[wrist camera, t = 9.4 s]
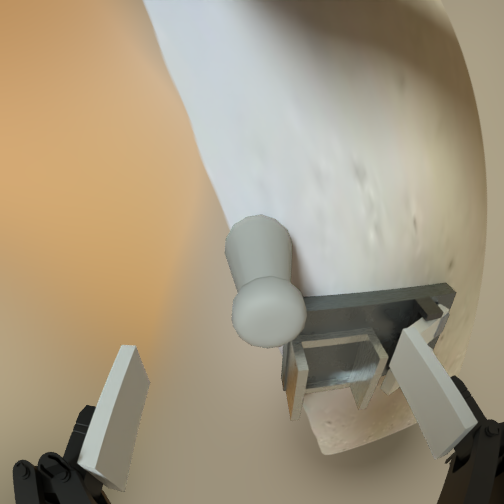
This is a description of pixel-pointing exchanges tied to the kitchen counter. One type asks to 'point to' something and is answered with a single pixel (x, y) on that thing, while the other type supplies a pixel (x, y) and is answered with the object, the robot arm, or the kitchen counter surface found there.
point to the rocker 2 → (431, 325)
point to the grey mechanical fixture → (354, 340)
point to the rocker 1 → (390, 382)
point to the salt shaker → (264, 283)
